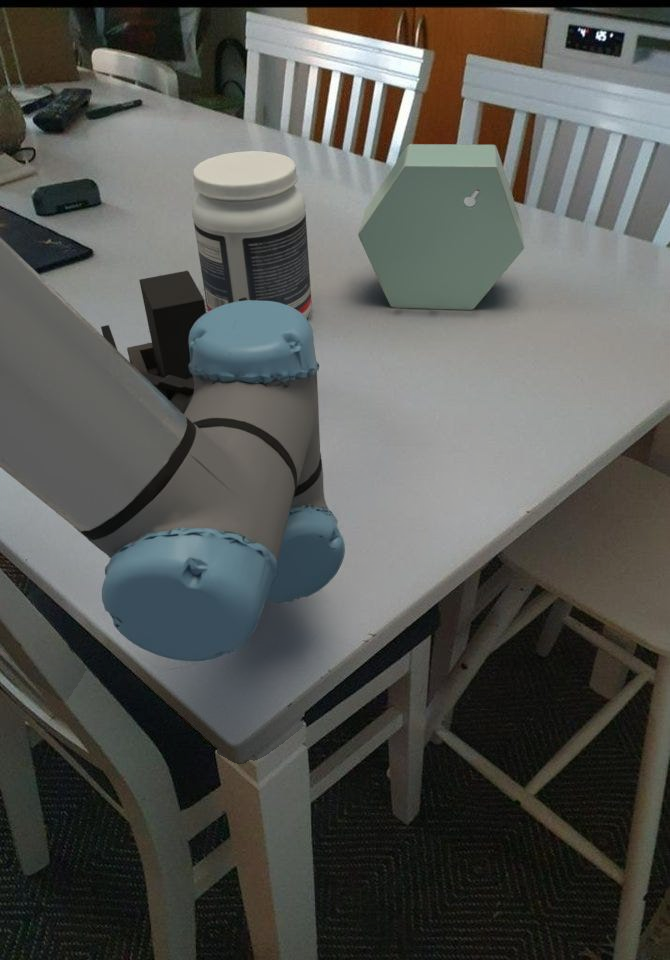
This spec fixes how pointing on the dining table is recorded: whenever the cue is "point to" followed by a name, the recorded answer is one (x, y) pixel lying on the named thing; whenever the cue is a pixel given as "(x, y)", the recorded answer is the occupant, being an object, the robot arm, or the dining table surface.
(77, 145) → the dining table surface
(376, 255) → the green hexagonal block
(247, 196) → the supplement tub
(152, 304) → the tall dark brick
